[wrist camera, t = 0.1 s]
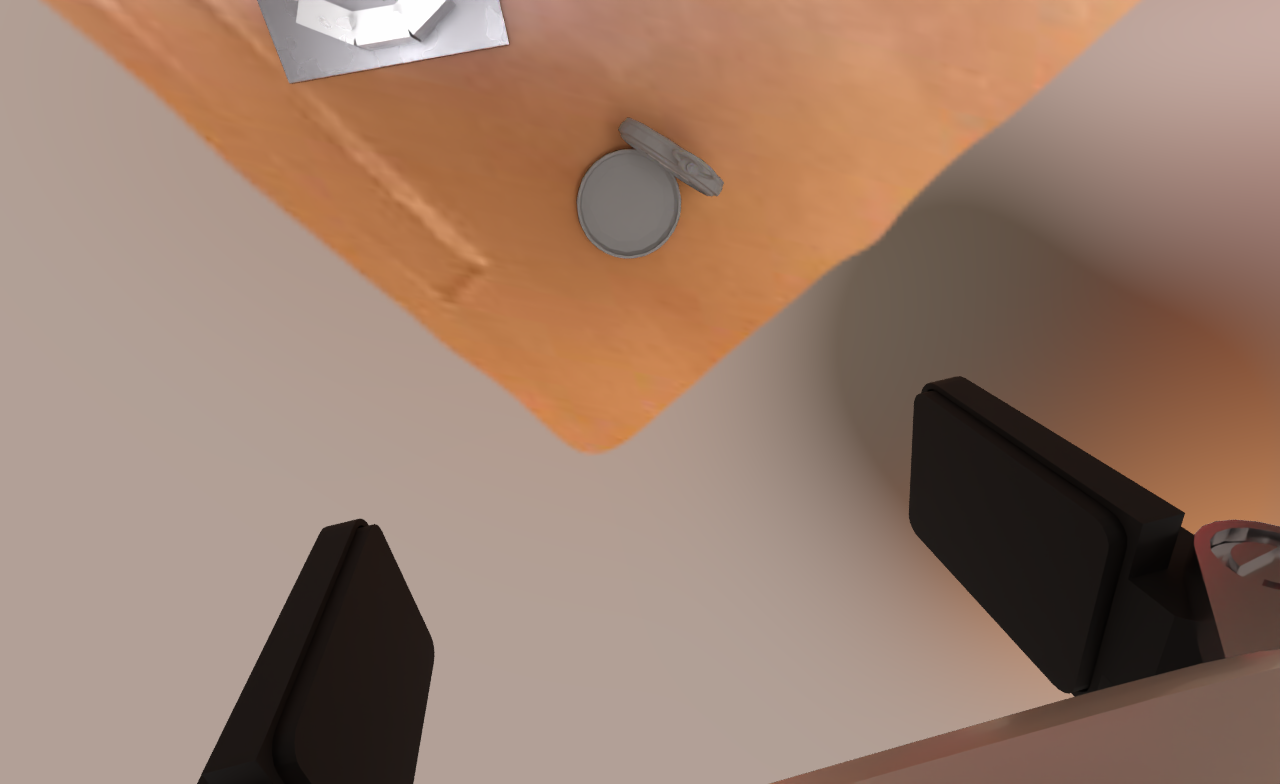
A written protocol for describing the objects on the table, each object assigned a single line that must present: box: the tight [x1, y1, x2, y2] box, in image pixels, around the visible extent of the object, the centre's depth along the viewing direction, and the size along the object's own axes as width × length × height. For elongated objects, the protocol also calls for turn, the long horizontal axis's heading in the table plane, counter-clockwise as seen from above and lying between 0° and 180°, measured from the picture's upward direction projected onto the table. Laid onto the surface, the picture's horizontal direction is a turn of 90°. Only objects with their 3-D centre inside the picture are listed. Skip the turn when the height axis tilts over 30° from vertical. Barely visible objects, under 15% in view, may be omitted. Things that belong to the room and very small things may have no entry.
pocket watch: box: [577, 118, 724, 258], centre depth 34 cm, size 8×8×10 cm
